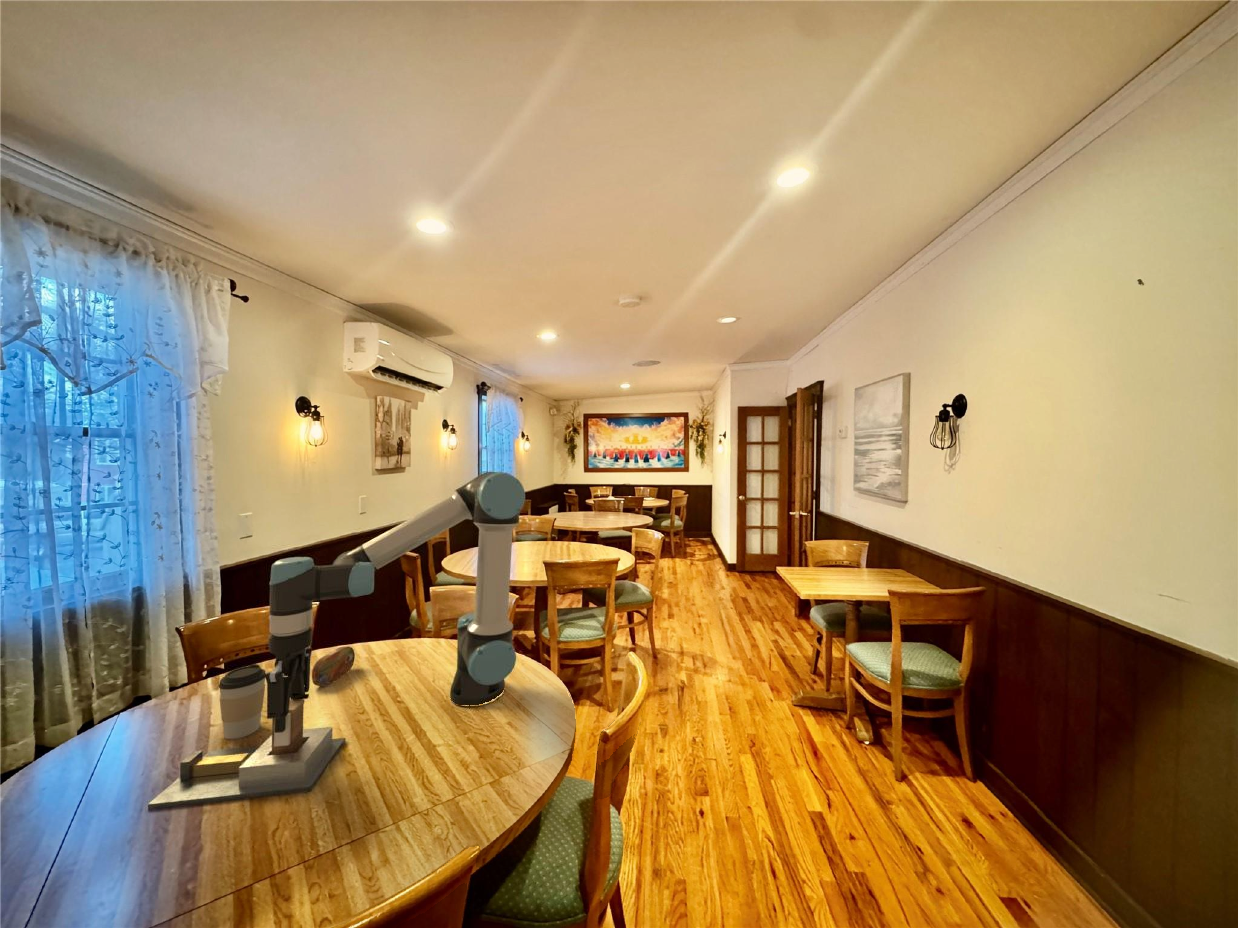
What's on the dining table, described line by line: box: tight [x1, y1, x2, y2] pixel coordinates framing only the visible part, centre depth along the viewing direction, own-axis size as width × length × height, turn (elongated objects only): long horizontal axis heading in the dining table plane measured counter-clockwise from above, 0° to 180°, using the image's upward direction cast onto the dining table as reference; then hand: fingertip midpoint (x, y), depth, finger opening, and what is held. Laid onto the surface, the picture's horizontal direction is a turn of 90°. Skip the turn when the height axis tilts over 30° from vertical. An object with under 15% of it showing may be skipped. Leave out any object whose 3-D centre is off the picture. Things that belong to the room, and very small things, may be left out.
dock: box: [147, 726, 346, 810], centre depth 93 cm, size 28×16×5 cm, turn 100°
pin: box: [179, 749, 248, 780], centre depth 92 cm, size 11×4×4 cm, turn 100°
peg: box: [271, 699, 305, 755], centre depth 94 cm, size 4×4×12 cm
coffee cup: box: [217, 663, 267, 740], centre depth 108 cm, size 9×9×15 cm
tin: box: [311, 646, 356, 687], centre depth 134 cm, size 15×3×8 cm, turn 174°
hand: (288, 737), depth 94 cm, fingers closed on peg, 4 cm apart
